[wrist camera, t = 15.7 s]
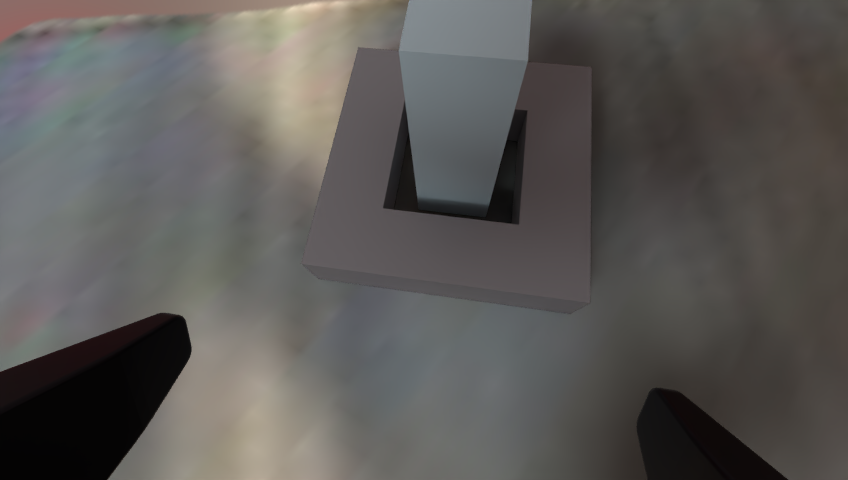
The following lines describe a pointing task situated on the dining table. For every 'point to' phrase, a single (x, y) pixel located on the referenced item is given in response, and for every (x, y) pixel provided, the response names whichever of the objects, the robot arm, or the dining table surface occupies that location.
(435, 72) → the slate block
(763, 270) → the dining table surface
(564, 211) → the square socket base
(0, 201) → the dining table surface
